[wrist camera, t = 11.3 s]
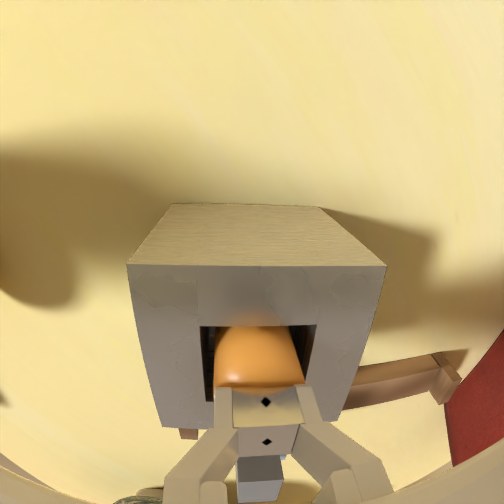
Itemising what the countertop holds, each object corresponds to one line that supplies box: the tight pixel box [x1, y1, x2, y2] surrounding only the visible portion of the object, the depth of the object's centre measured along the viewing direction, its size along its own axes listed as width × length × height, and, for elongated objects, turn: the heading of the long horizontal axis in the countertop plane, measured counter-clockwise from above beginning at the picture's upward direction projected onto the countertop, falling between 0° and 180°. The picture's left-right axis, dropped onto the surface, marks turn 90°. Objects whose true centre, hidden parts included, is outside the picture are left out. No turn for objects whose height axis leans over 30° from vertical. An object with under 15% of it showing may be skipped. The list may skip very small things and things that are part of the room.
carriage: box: [235, 454, 287, 503], centre depth 17 cm, size 6×5×9 cm
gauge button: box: [213, 326, 306, 399], centre depth 11 cm, size 3×3×5 cm
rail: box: [179, 352, 462, 440], centre depth 20 cm, size 3×23×4 cm, turn 88°
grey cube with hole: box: [126, 204, 387, 429], centre depth 14 cm, size 8×8×8 cm
